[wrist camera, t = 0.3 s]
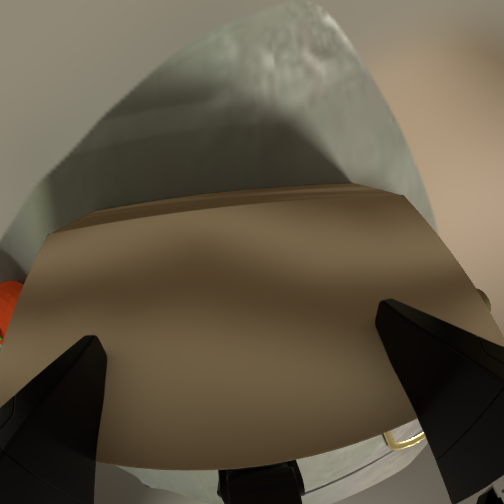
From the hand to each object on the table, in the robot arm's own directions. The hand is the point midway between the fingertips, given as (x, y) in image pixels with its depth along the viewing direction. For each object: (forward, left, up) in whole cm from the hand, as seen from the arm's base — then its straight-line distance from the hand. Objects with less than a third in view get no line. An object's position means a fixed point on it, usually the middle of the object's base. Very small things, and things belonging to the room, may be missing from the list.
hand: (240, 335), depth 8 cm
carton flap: (0, 0, -2) cm, 2 cm away
